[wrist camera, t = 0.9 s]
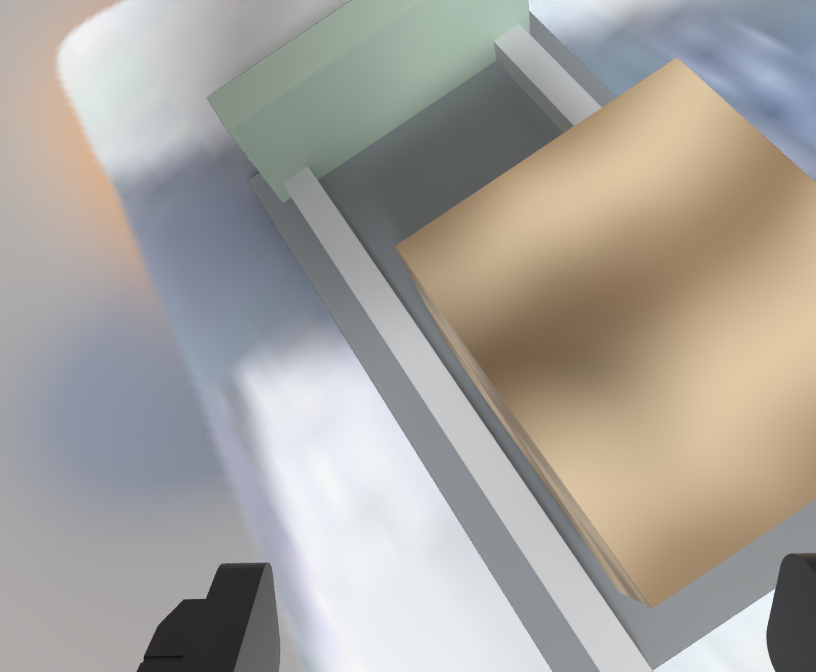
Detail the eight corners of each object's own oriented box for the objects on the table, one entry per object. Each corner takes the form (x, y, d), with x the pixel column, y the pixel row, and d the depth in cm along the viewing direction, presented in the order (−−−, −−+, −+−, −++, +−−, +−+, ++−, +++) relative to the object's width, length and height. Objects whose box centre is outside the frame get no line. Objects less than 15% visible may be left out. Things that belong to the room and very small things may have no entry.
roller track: (958, 457, 26) (1106, 419, 19) (580, 711, 26) (588, 767, 19) (518, 16, 37) (509, -110, 30) (256, 192, 37) (186, 106, 30)
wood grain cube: (835, 442, 26) (1016, 364, 16) (615, 590, 26) (652, 608, 16) (637, 226, 30) (676, 57, 20) (450, 351, 30) (394, 245, 20)
